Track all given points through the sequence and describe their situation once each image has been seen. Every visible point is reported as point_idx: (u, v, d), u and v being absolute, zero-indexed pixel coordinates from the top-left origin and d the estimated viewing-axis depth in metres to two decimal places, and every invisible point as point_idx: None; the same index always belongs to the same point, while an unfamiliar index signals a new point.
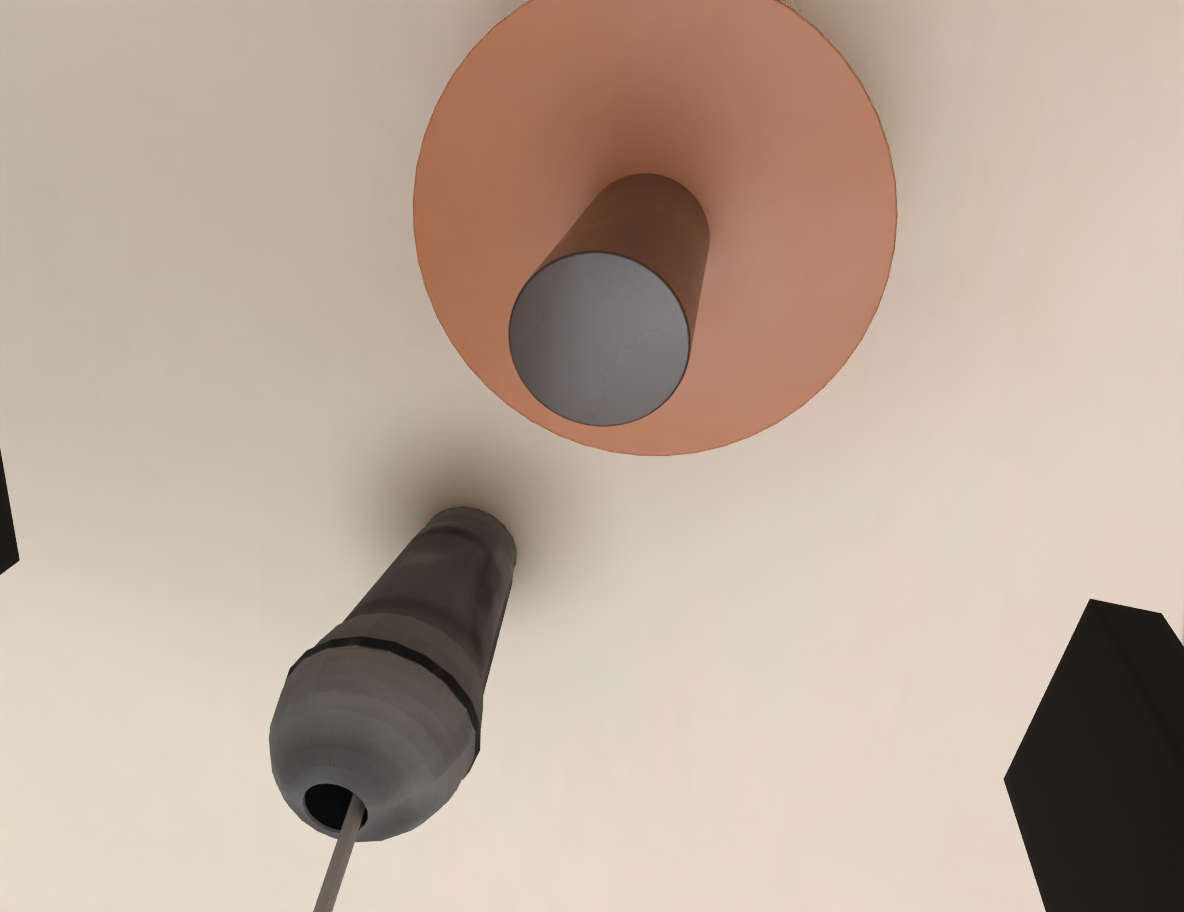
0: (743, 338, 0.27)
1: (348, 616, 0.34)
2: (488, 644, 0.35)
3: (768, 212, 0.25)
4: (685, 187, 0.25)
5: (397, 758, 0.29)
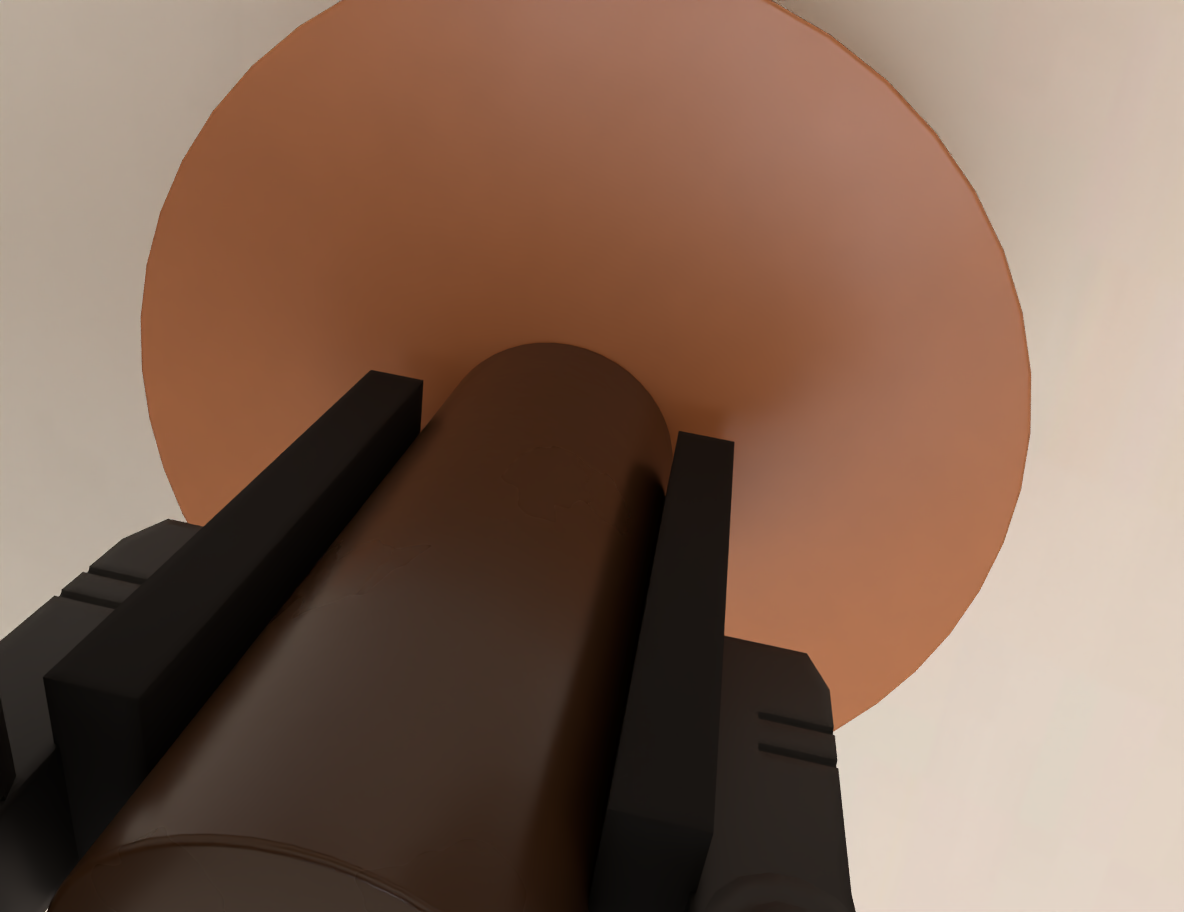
0: (734, 620, 0.15)
1: None
2: None
3: (782, 418, 0.13)
4: (626, 370, 0.13)
5: None
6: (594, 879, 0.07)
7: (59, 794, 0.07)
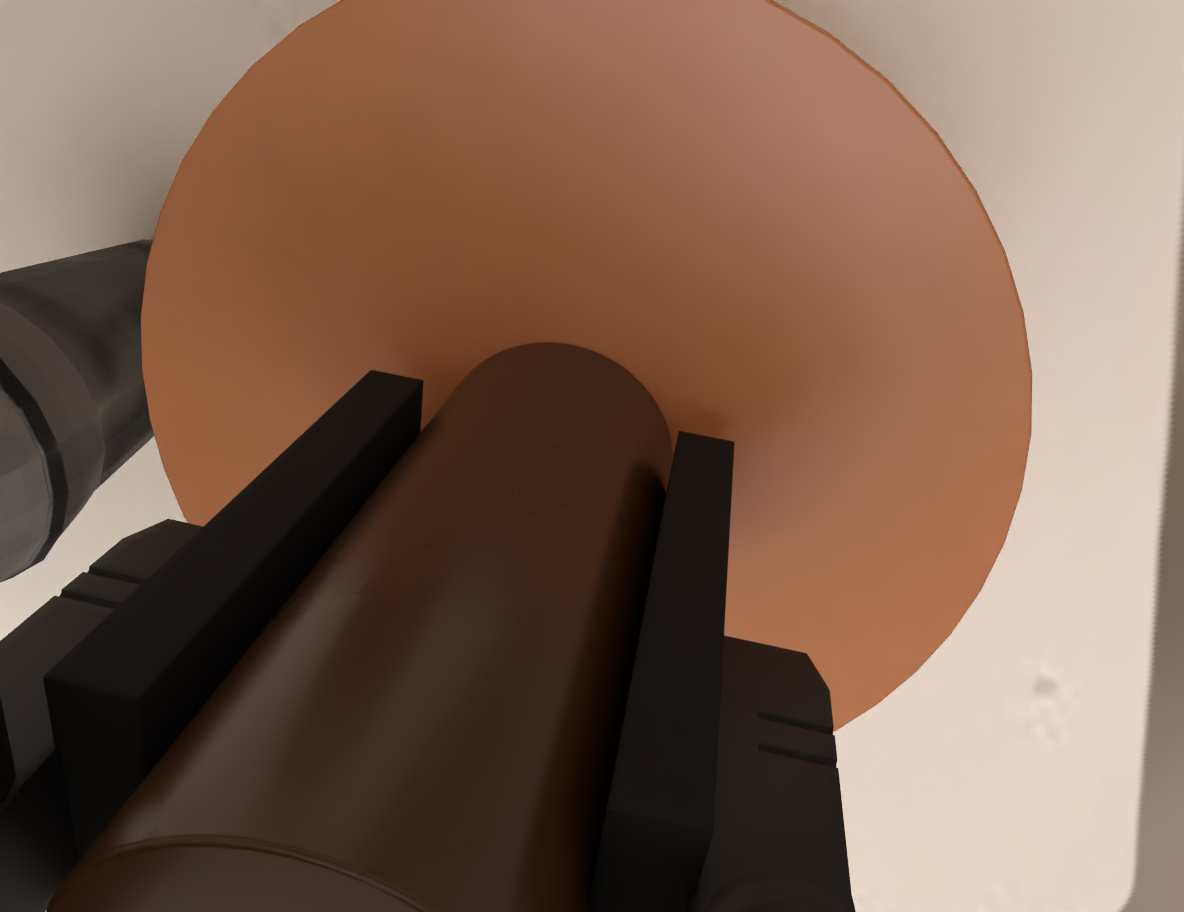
0: (735, 621, 0.15)
1: None
2: (137, 369, 0.24)
3: (783, 418, 0.13)
4: (626, 370, 0.13)
5: None
6: (594, 879, 0.07)
7: (60, 794, 0.07)
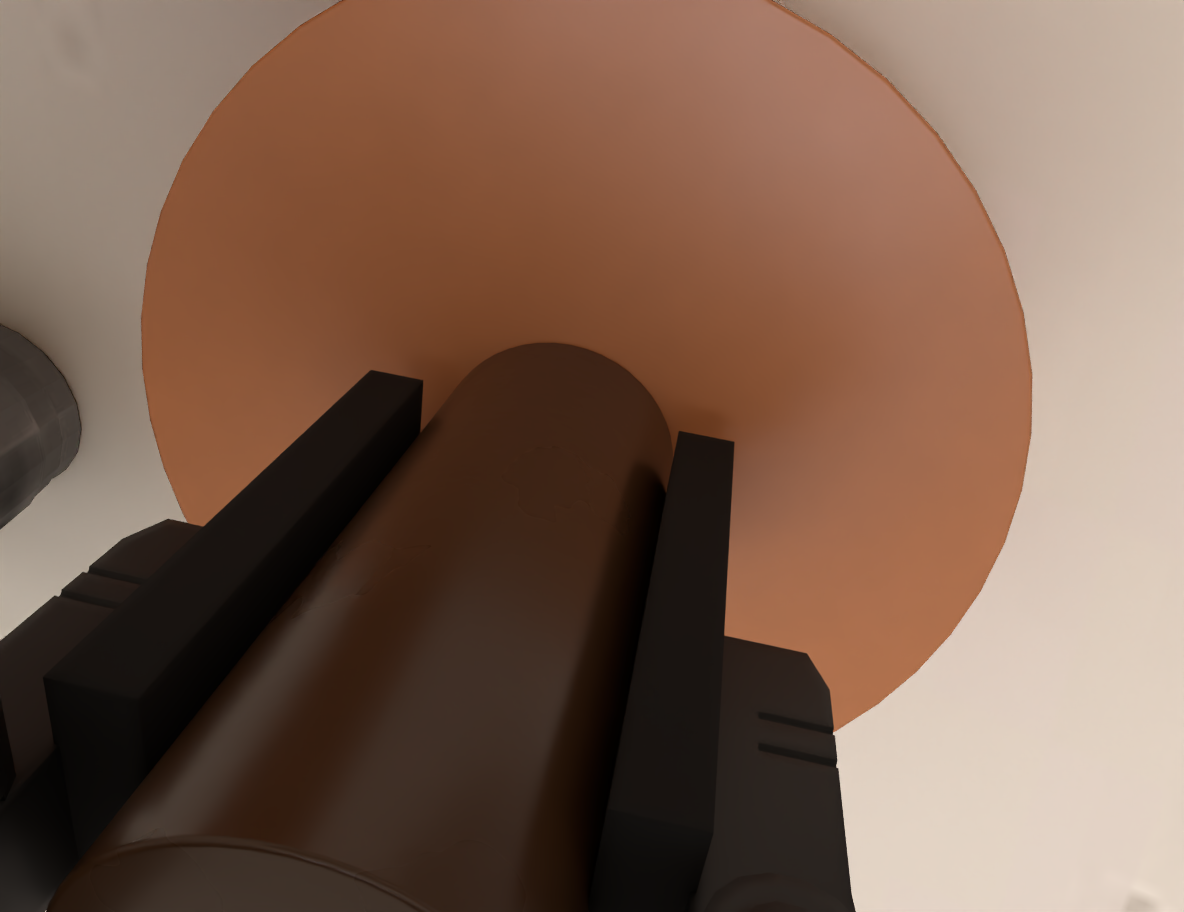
0: (735, 621, 0.15)
1: None
2: None
3: (783, 418, 0.13)
4: (626, 370, 0.13)
5: None
6: (594, 879, 0.07)
7: (59, 794, 0.07)
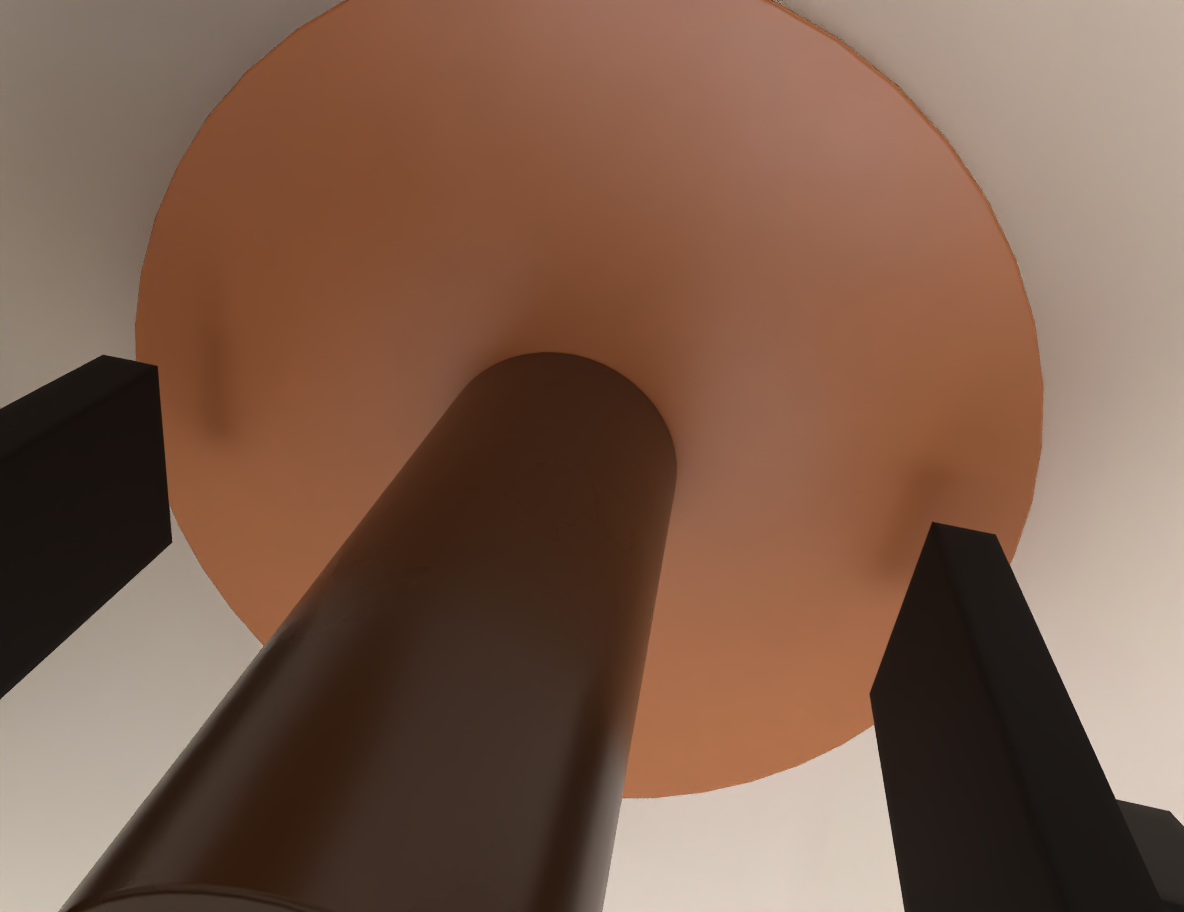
0: (739, 634, 0.15)
1: None
2: None
3: (789, 430, 0.13)
4: (629, 380, 0.13)
5: None
6: None
7: None
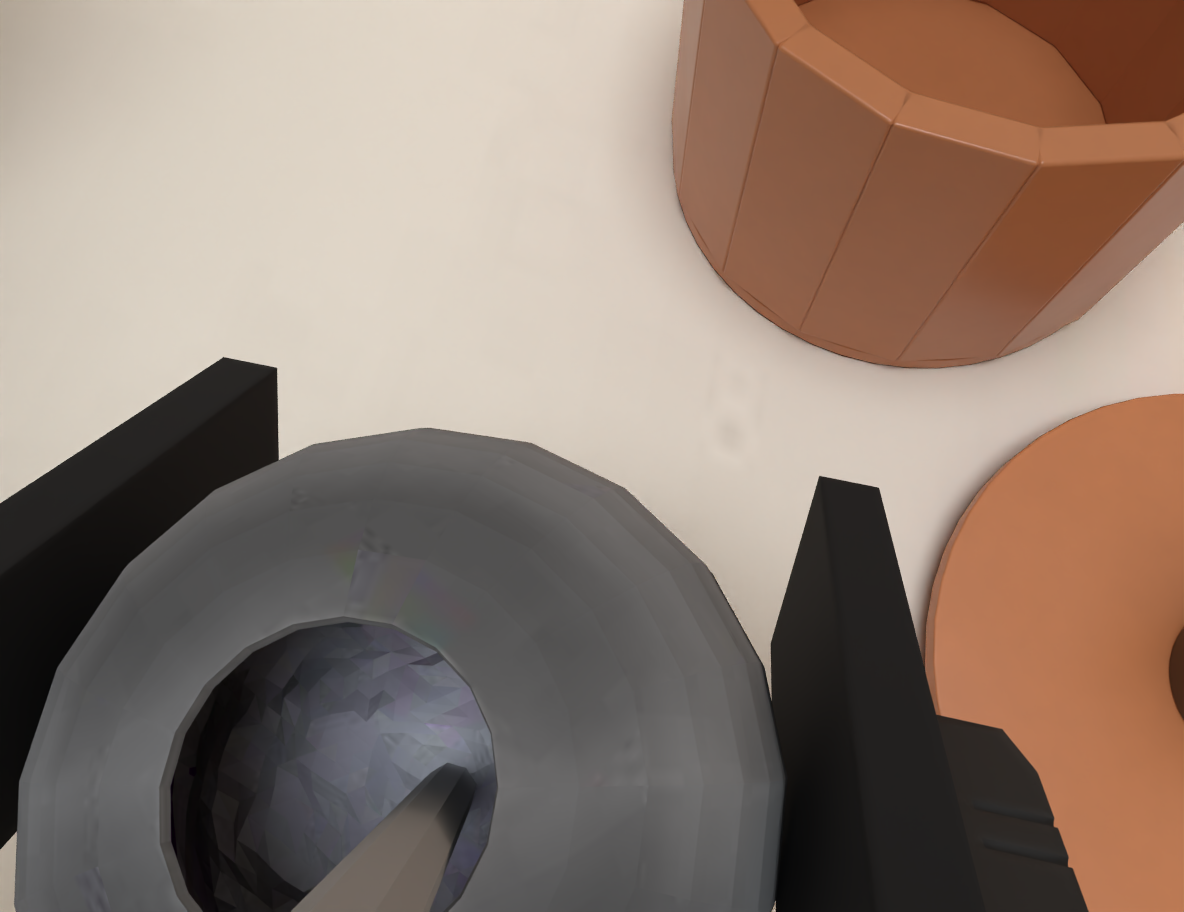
0: None
1: None
2: None
3: None
4: None
5: (630, 607, 0.07)
6: None
7: None
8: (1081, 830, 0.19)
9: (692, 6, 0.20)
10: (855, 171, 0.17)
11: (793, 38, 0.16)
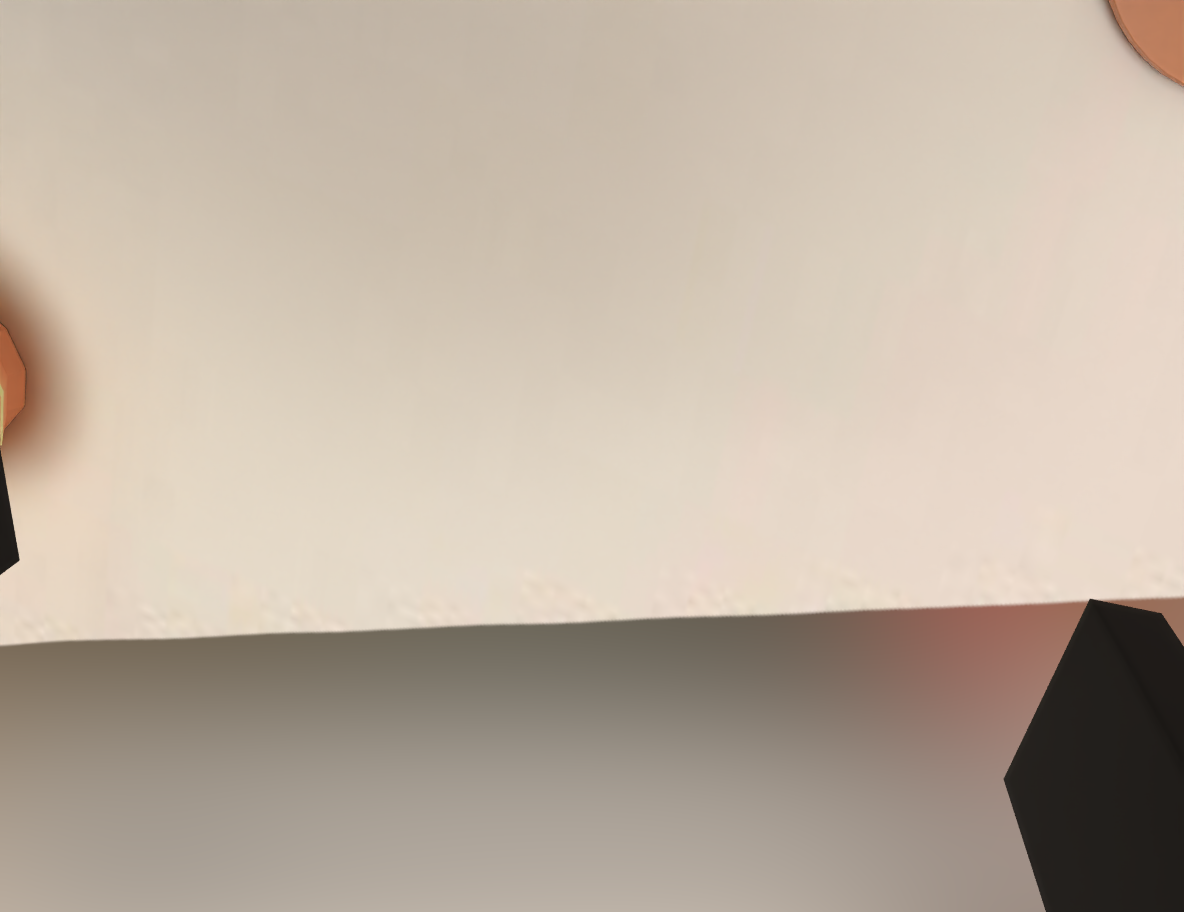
0: None
1: None
2: None
3: None
4: None
5: None
6: None
7: None
8: None
9: None
10: None
11: None
